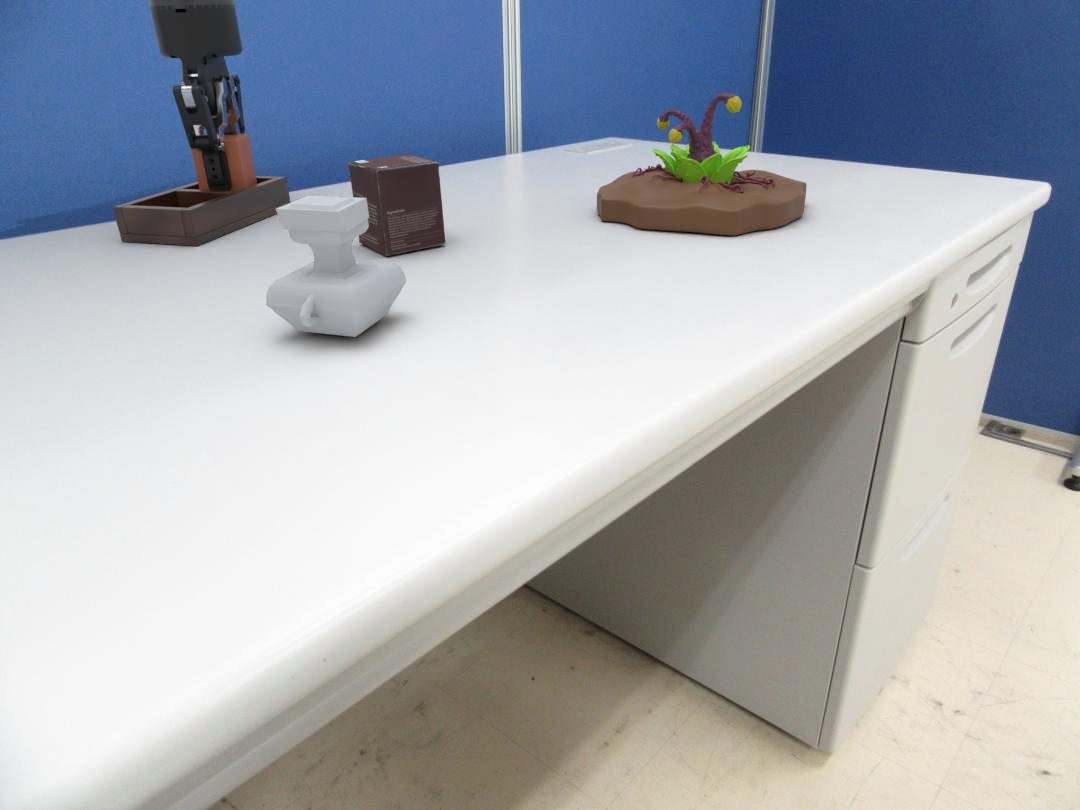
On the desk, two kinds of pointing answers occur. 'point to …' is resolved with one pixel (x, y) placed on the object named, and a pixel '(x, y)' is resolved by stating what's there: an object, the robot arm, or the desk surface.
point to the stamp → (333, 270)
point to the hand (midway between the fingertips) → (228, 184)
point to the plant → (701, 187)
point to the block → (231, 163)
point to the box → (400, 202)
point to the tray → (199, 212)
